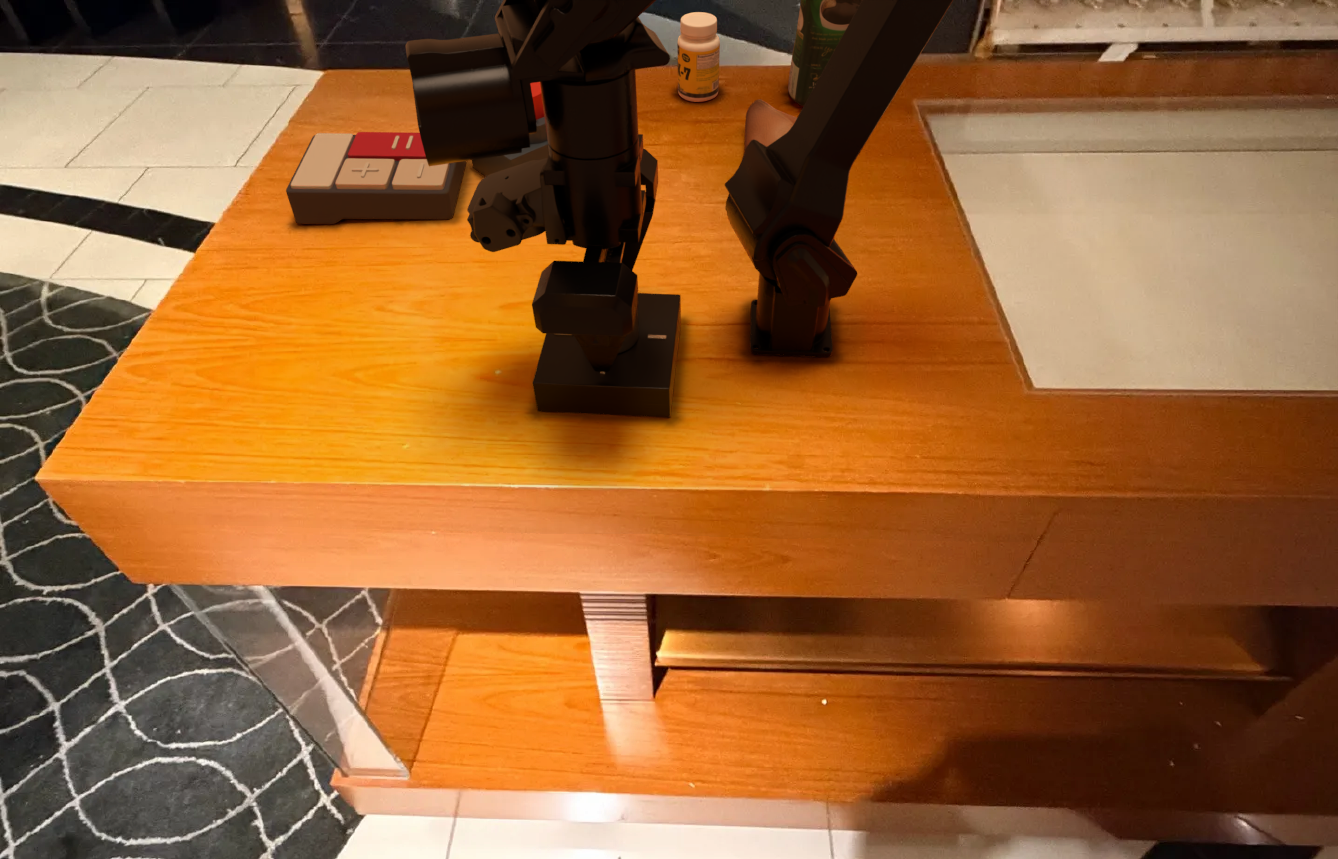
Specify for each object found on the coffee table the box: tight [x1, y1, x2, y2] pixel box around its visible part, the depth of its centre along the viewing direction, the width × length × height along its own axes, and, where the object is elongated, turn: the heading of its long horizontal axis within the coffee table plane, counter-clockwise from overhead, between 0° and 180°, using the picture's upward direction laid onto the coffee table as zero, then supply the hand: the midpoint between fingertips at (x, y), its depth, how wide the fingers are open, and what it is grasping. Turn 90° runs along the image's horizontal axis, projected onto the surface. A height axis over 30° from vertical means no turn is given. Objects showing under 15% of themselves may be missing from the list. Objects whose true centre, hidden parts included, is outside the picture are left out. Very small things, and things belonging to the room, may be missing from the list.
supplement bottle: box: [676, 11, 721, 103], centre depth 96 cm, size 5×5×8 cm
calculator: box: [285, 131, 467, 225], centre depth 84 cm, size 11×4×15 cm
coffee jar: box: [787, 0, 862, 107], centre depth 92 cm, size 10×8×19 cm
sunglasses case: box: [744, 98, 797, 150], centre depth 86 cm, size 18×7×7 cm
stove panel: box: [532, 292, 682, 418], centre depth 67 cm, size 11×10×3 cm
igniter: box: [471, 117, 549, 177], centre depth 87 cm, size 8×10×6 cm
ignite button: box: [530, 82, 544, 120], centre depth 84 cm, size 4×4×3 cm
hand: (610, 329), depth 65 cm, fingers open, 9 cm apart
